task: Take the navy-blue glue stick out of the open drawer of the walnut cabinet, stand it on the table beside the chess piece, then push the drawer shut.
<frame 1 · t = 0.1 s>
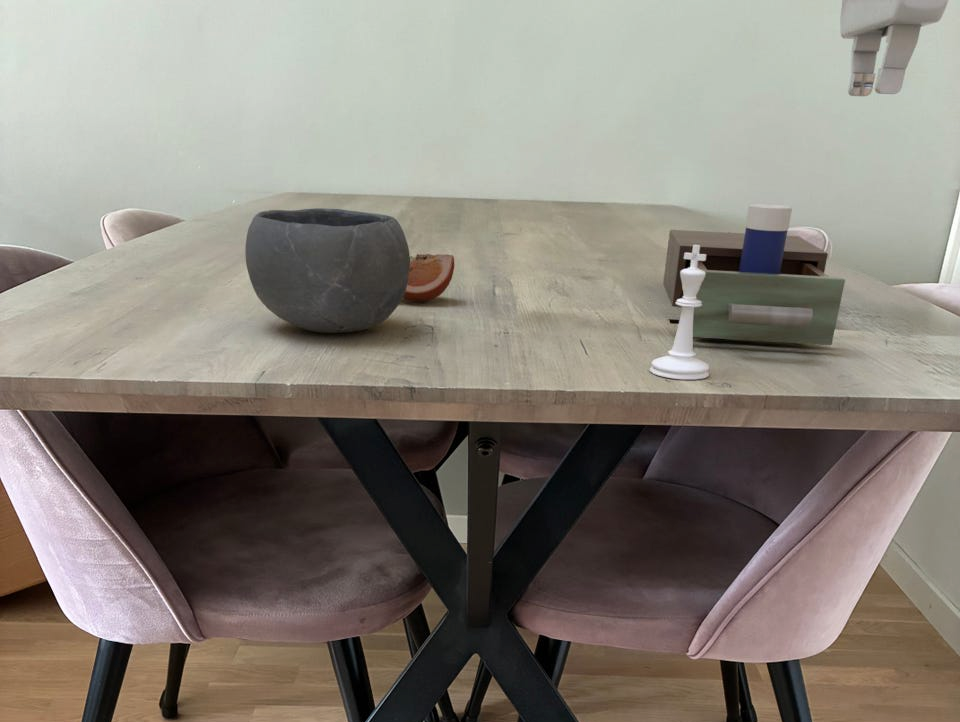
hand: (872, 95, 82), 21 cm above the table, tool pointing down, fingers open, 8 cm apart
cabinet: (731, 314, 106), on the table
glue stick: (751, 317, 93), point 2 cm above the table, touching drawer
fruit slice: (415, 302, 106), on the table
bowl: (332, 331, 91), on the table
chess piece: (678, 375, 80), on the table
drawer: (755, 299, 92), point 4 cm above the table, slide at 10.0 cm, touching glue stick
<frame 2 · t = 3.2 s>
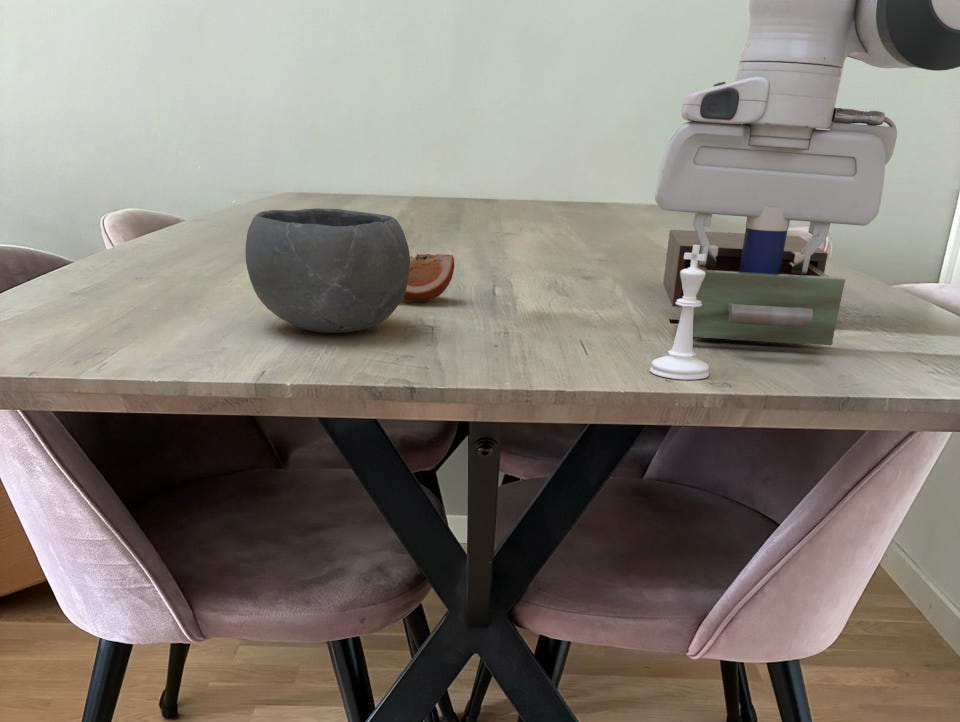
hand: (751, 269, 91), 6 cm above the table, tool pointing down, fingers open, 7 cm apart
drawer: (755, 299, 92), point 4 cm above the table, slide at 10.0 cm, touching glue stick, gripper
everything else where it was.
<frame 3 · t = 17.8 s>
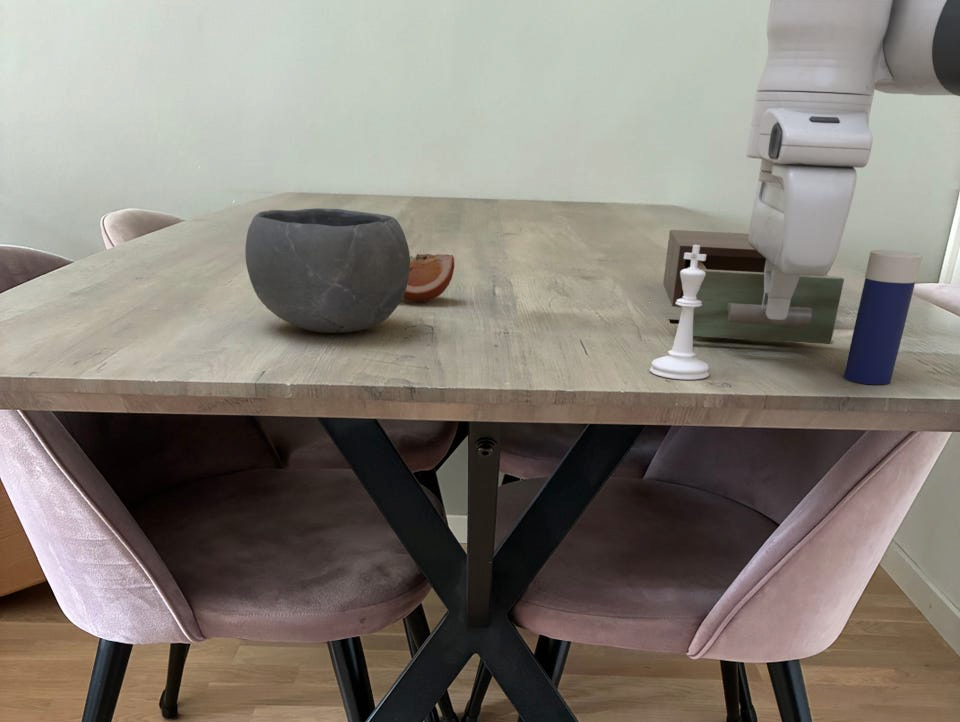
hand: (773, 316, 82), 4 cm above the table, tool pointing down, fingers closed
glue stick: (866, 379, 81), on the table
drawer: (755, 298, 92), point 4 cm above the table, slide at 9.6 cm, touching gripper
everything else where it was.
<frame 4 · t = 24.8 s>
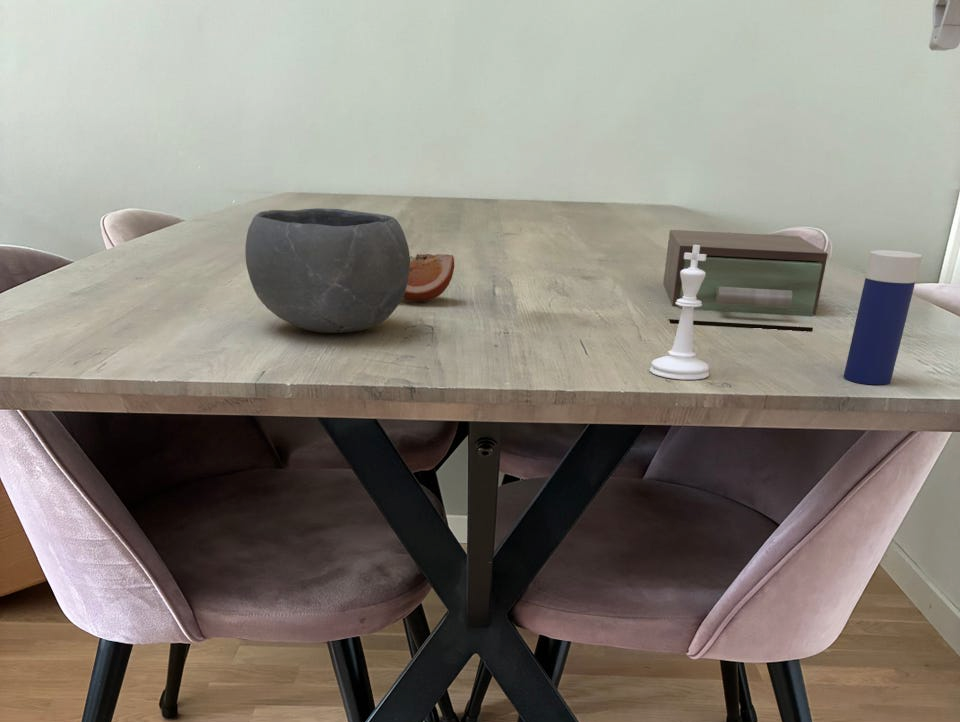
hand: (942, 49, 86), 25 cm above the table, tool pointing down, fingers closed
drawer: (742, 283, 100), point 4 cm above the table, slide at 0.0 cm
everything else where it was.
at the end: glue stick inside the target area on the table beside the chess piece (0.4 cm from its centre), on the table; glue stick tilted 0°; drawer slide at 0.0 cm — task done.
